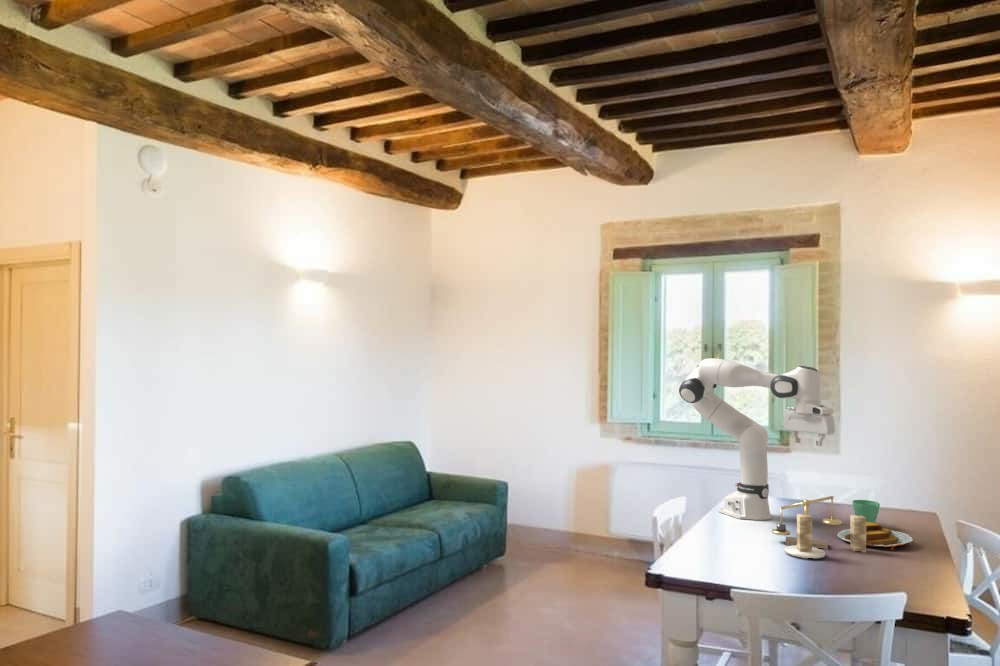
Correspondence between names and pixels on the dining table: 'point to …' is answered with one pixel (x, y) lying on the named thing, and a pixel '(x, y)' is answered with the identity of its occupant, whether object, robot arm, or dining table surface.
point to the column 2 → (858, 533)
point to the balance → (782, 527)
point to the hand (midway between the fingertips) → (808, 444)
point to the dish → (795, 552)
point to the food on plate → (879, 536)
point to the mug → (866, 509)
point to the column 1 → (804, 533)
